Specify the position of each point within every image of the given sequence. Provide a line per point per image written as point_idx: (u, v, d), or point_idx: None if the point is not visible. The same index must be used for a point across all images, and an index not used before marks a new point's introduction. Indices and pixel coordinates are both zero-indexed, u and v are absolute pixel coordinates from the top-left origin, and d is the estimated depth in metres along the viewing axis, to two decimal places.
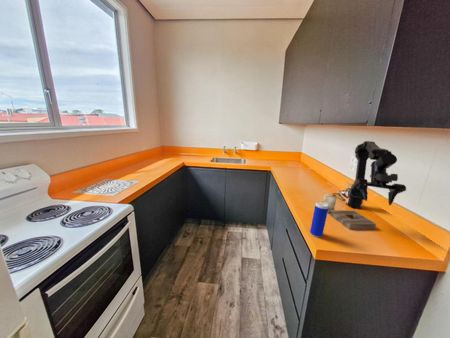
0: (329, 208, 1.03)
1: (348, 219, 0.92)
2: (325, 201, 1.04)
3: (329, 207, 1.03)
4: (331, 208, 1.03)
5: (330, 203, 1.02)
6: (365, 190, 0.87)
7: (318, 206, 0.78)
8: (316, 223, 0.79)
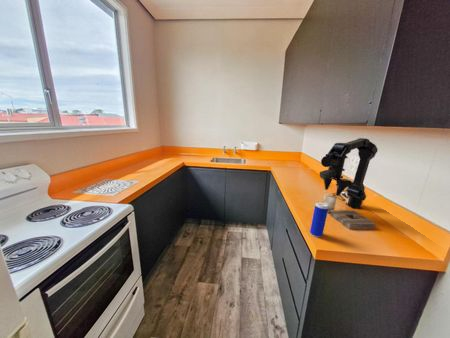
0: (329, 208, 1.03)
1: (348, 219, 0.92)
2: (325, 201, 1.04)
3: (329, 207, 1.03)
4: (331, 208, 1.03)
5: (330, 203, 1.02)
6: (324, 181, 1.07)
7: (318, 206, 0.78)
8: (316, 223, 0.79)
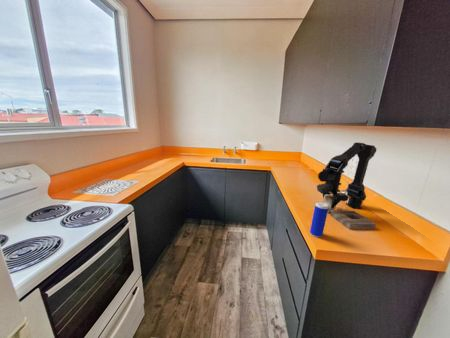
0: (329, 208, 1.03)
1: (348, 219, 0.92)
2: (325, 201, 1.04)
3: (329, 207, 1.03)
4: (331, 208, 1.03)
5: (330, 203, 1.02)
6: (323, 195, 1.08)
7: (318, 206, 0.78)
8: (316, 223, 0.79)
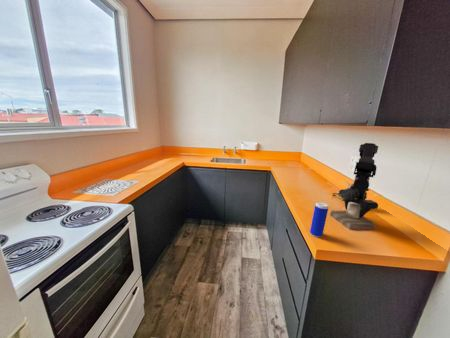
0: (354, 217, 0.93)
1: (348, 219, 0.92)
2: (349, 210, 0.94)
3: (354, 216, 0.93)
4: (356, 217, 0.93)
5: (355, 212, 0.92)
6: (345, 200, 0.99)
7: (318, 206, 0.78)
8: (316, 223, 0.79)
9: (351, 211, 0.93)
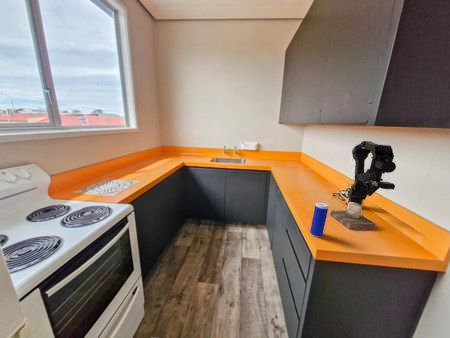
0: (354, 217, 0.93)
1: (348, 219, 0.92)
2: (349, 210, 0.94)
3: (354, 216, 0.93)
4: (356, 217, 0.93)
5: (355, 212, 0.92)
6: (367, 187, 0.99)
7: (318, 206, 0.78)
8: (316, 223, 0.79)
9: (351, 211, 0.93)
